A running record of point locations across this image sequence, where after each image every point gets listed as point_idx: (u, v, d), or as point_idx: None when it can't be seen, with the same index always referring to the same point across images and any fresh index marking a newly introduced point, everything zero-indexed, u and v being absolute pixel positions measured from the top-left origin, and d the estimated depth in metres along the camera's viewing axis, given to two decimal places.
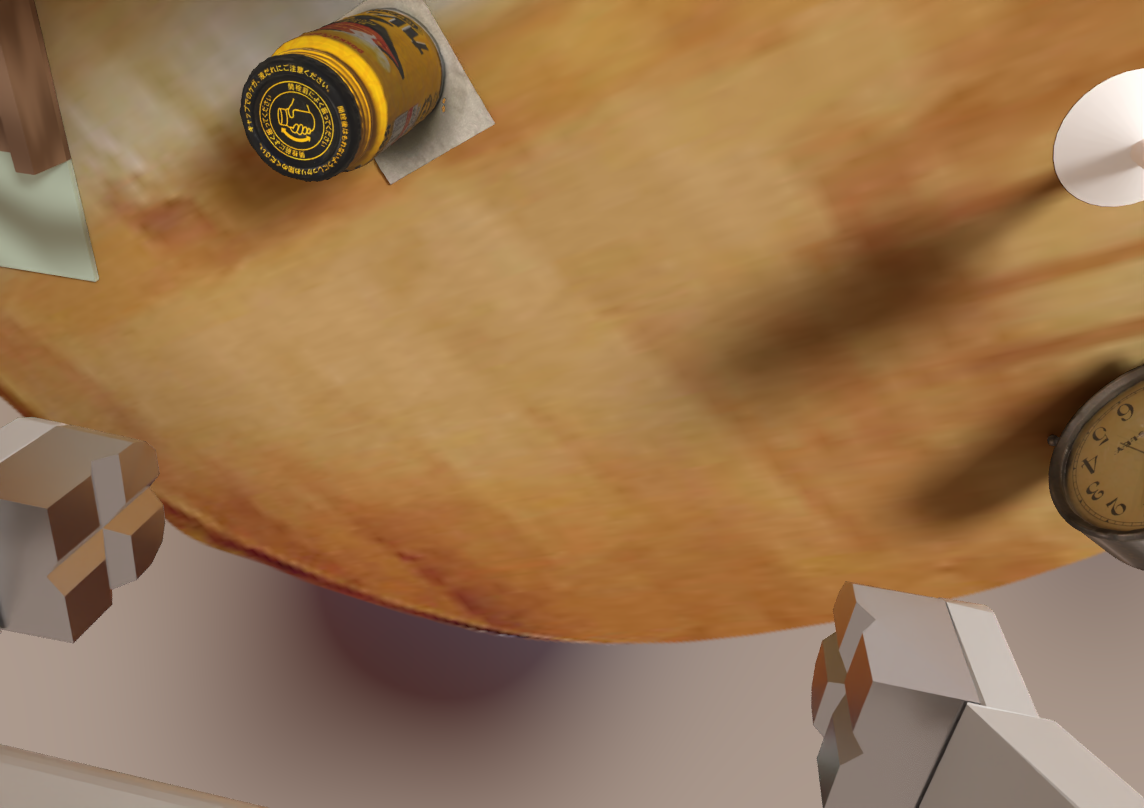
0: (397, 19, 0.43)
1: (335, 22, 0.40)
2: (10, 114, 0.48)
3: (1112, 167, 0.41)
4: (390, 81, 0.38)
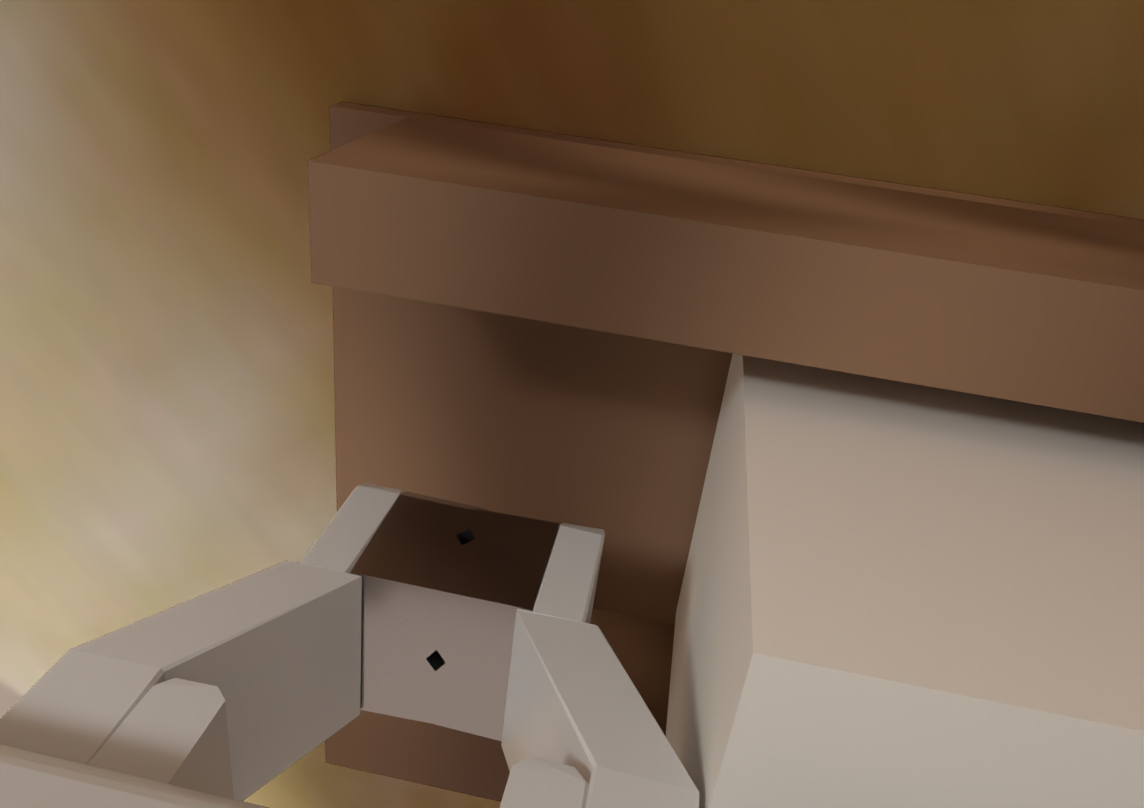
0: None
1: None
2: None
3: None
4: None
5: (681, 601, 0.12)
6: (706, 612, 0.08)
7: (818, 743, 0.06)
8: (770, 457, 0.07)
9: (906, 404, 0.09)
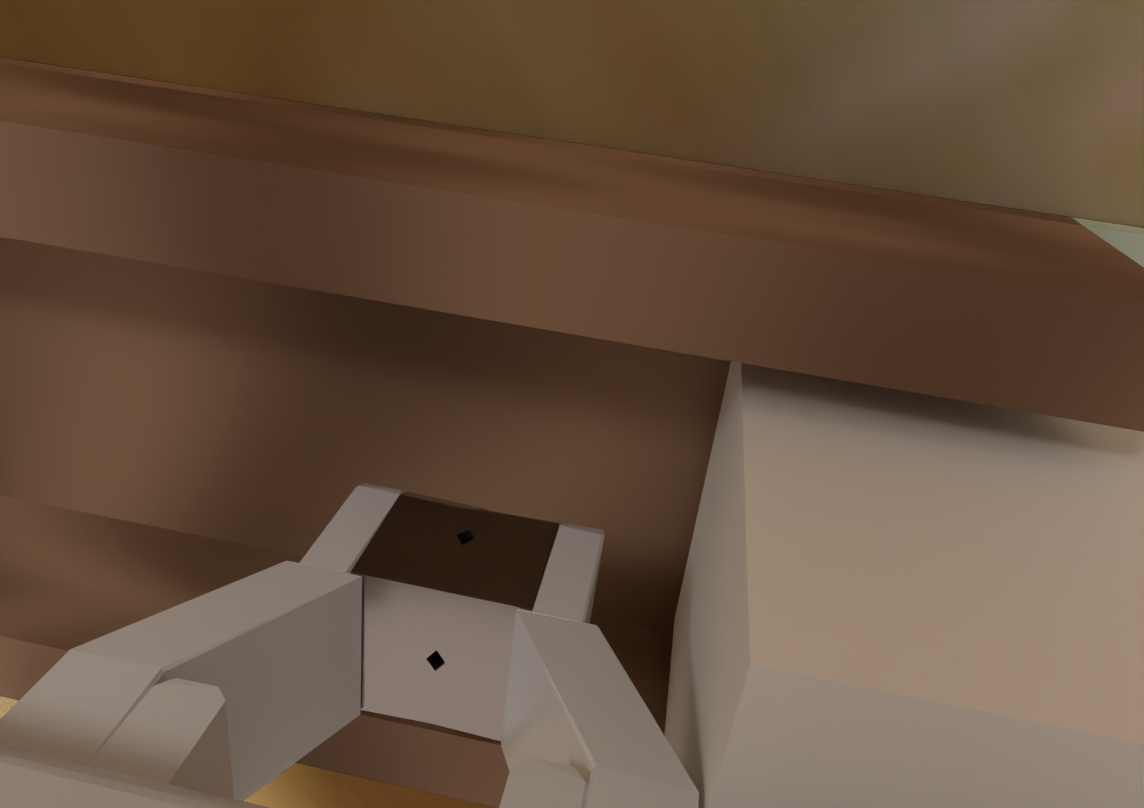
0: None
1: None
2: (789, 301, 0.08)
3: None
4: None
5: (680, 608, 0.12)
6: (704, 620, 0.08)
7: (815, 752, 0.06)
8: (768, 465, 0.07)
9: (904, 411, 0.09)
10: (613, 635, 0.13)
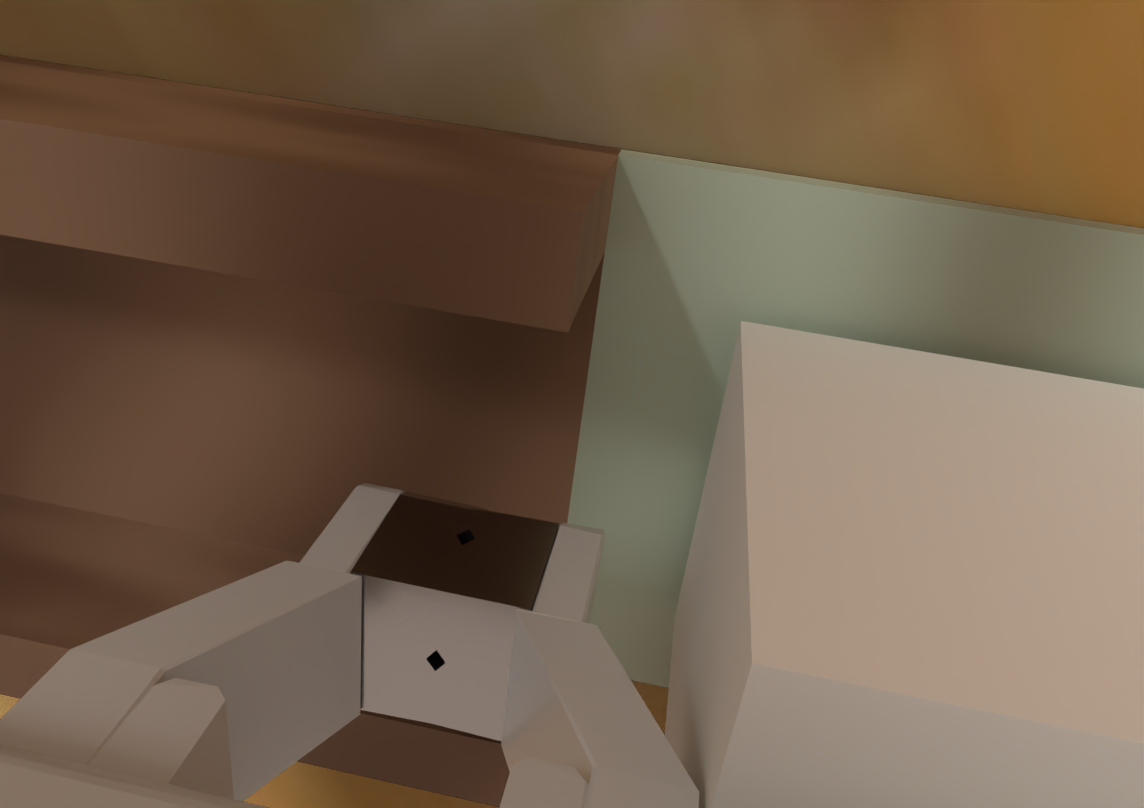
0: None
1: None
2: (234, 208, 0.08)
3: None
4: None
5: (680, 607, 0.12)
6: (705, 619, 0.08)
7: (818, 752, 0.06)
8: (770, 465, 0.07)
9: (904, 412, 0.09)
10: None
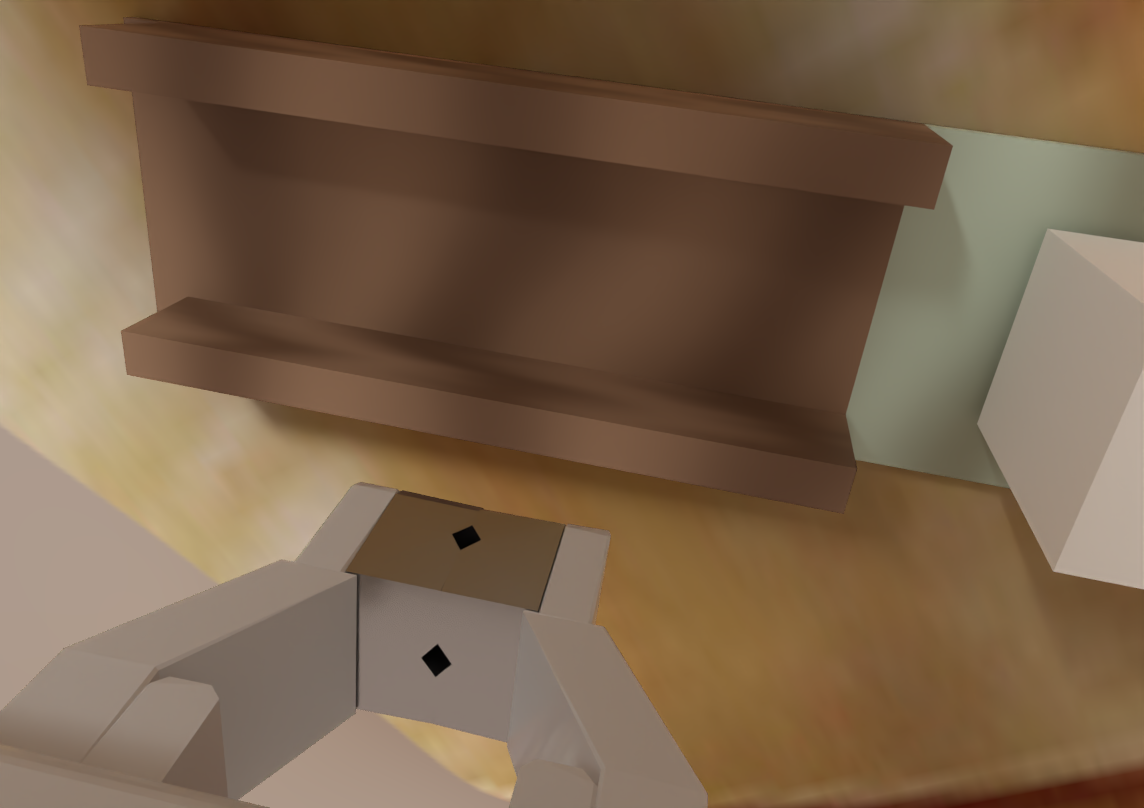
0: None
1: None
2: (763, 148, 0.17)
3: None
4: None
5: (991, 409, 0.20)
6: (1066, 367, 0.16)
7: None
8: (1118, 276, 0.15)
9: None
10: (669, 389, 0.22)
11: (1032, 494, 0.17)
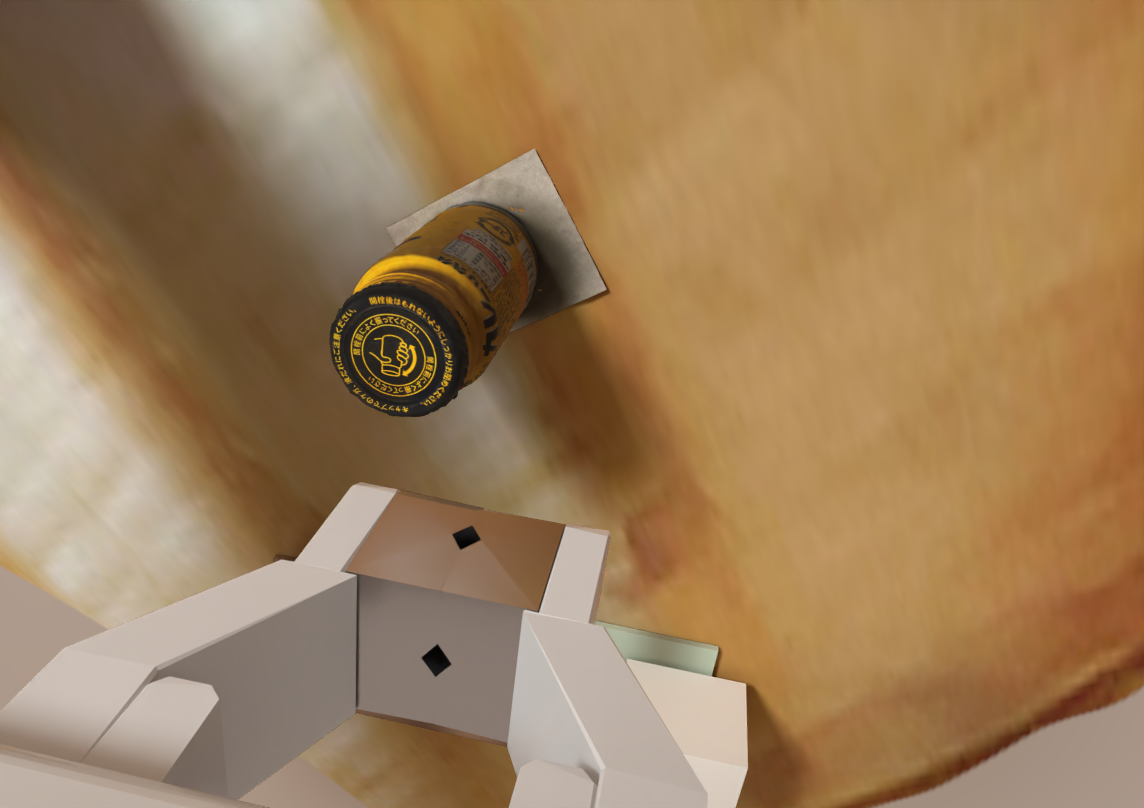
0: None
1: None
2: None
3: None
4: (401, 248, 0.33)
5: None
6: None
7: None
8: None
9: (652, 687, 0.48)
10: None
11: None
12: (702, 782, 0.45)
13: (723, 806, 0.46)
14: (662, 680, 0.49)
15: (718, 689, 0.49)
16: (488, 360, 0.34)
